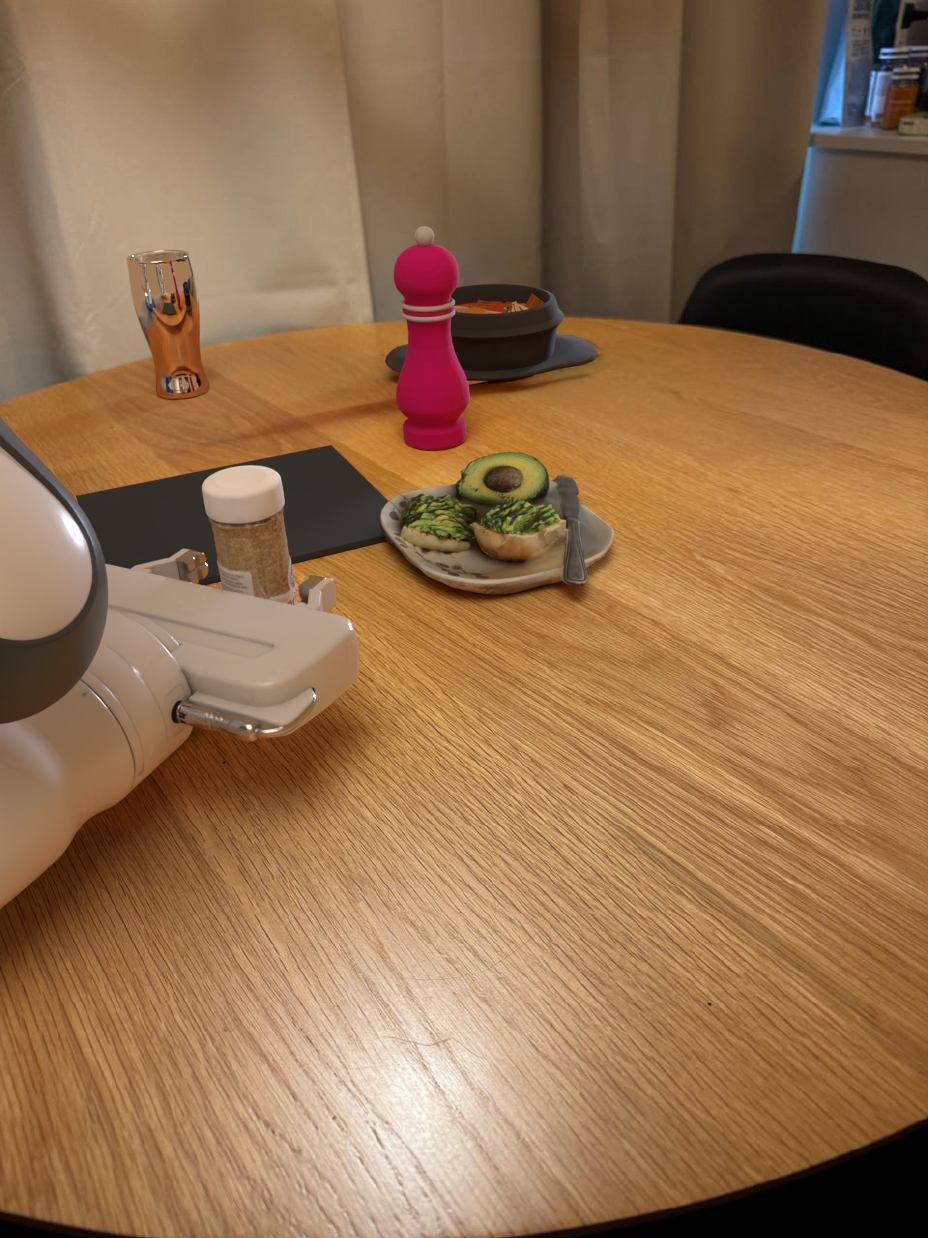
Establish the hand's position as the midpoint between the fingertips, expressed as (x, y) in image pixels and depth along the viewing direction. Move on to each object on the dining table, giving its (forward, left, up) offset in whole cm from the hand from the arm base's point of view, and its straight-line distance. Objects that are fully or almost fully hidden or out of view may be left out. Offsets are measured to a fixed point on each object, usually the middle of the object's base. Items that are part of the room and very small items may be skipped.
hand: (260, 573), depth 60 cm
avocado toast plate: (+21, +9, -7) cm, 23 cm away
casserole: (+41, +49, -7) cm, 64 cm away
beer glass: (+7, +61, -7) cm, 61 cm away
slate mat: (+4, +24, -7) cm, 25 cm away
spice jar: (0, 0, -7) cm, 7 cm away
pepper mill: (+26, +32, -7) cm, 41 cm away
